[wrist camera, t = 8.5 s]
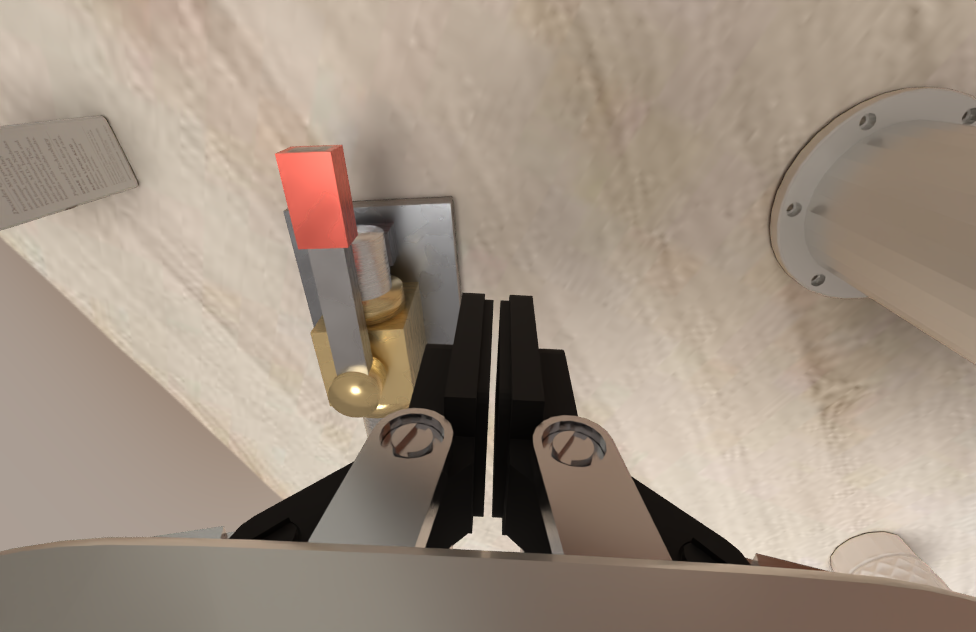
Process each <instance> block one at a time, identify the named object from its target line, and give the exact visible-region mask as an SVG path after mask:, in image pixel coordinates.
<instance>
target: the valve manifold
mask: <svg viewBox="0 0 976 632" xmlns="http://www.w3.org/2000/svg"><path fill="white" fill-rule="evenodd" d="M352 203H353V209H354V215H355V220H356V226H357V232H358V236H357V237H356V238H355V240H354V241H353V242H352V249H353V255H354V260H355V265H356V271H357V276H358V282H359V287H360V293H361V298H362V303H363V309H364V314H365V320H366V325H367V331H368V336H369V341H370V347H371V352H372V357H374V358H376V359H377V360H379V361H380V362H381V363H382V364H383V365H384V367H385V369H386V372H387V379H386V383H385V386H384V389H383V392H382V395H381V398H380V401H379V404H378V407H377V409H376V410H375V411H374V412H373V413H371V414H370V415H368V416H365V417H363V420H364V424H365V429H366V433H367V437H369V435H370V433H371V431H372V430H373V428H374V427H375V426H376V425H377V423H378V422H379V421H380V420H381V419H383V418H384V417H386V416H387V415H389V414H391V413H394V412H396V411H399V410H403V409H408V408H409V404H410V401H411V397H412V393H413V390H414V386H415V382H416V379H417V375H418V371H419V368H420V364H421V361H422V357H423V353H424V350H425V346H426V344H427V343H430V344H451V345H453V343H454V337H455V332H456V326H457V320H458V315H459V309H460V304H461V292H460V280H459V269H458V257H457V246H456V235H455V223H454V212H453V200H452V197H431V198H411V199H391V200H371V201H352ZM283 212H284V215H285V219H286V223H287V227H288V230H289V234H290V238H291V242H292V246H293V249H294V253H295V257H296V261H297V265H298V268H299V272H300V276H301V280H302V284H303V287H304V291H305V295H306V299H307V302H308V306H309V310H310V314H311V318H312V321H313V325H314V328H313V330H312V331H311V337H312V341H313V344H314V348H315V352H316V355H317V359H318V363H319V366H320V370H321V374H322V378H323V381H324V385H325V389H326V392H327V396H328V390H329V388H330V386H331V384H332V382H333V380H334V378H335V375H336V369H335V365H334V361H333V357H332V352H331V348H330V344H329V339H328V335H327V331H326V326H325V322H324V318H323V314H322V309H321V305H320V301H319V296H318V292H317V288H316V283H315V279H314V275H313V271H312V266H311V262H310V258H309V253H308V249H298V246H297V242H296V238H295V234H294V230H293V226H292V222H291V217H290V213H289V209H288V208H287V209H286V210H284V211H283ZM328 400H329V399H328ZM329 404H330V402H329ZM330 406H332V405H331V404H330Z"/></svg>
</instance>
